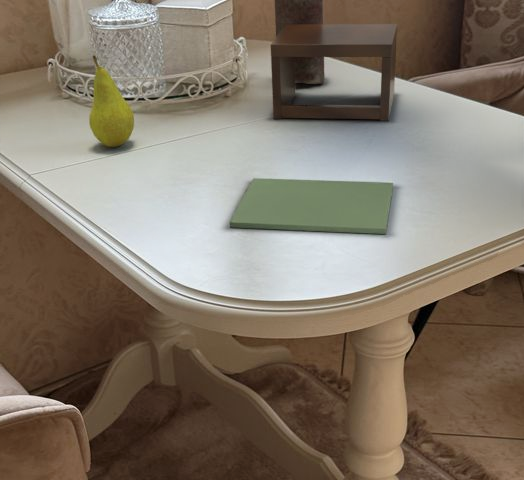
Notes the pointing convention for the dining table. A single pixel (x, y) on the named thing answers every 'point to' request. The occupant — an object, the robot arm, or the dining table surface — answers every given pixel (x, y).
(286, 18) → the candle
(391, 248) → the dining table surface
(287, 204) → the placemat
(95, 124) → the fruit
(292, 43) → the shelf stand
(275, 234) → the dining table surface
